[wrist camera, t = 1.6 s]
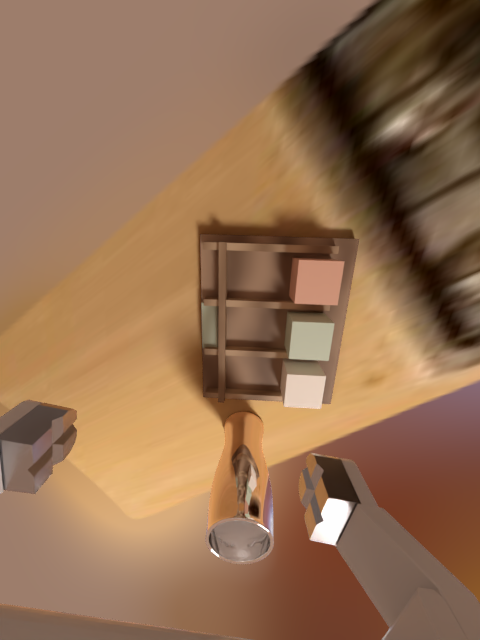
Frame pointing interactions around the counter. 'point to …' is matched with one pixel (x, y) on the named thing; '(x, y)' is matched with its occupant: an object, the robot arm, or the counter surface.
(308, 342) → the sage green cube
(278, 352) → the brown compartment tray
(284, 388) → the pale pink cube
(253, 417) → the beer glass
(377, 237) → the counter surface
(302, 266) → the salmon pink cube
